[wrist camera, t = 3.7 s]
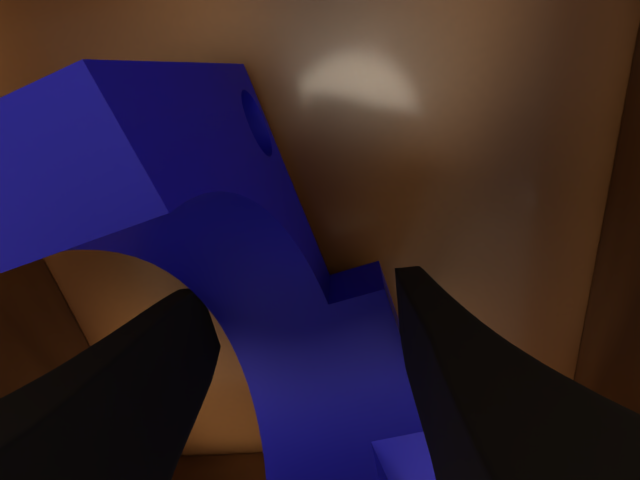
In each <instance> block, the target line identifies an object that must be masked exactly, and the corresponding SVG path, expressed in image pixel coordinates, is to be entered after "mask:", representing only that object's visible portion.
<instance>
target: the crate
mask: <svg viewBox="0 0 640 480" xmlns="http://www.w3.org/2000/svg"><path fill="white" fill-rule="evenodd" d="M82 59H91V60H127V61H162V62H198V63H233V64H244V66H245V68H246V71H247V73H248V76H249V78H250V81H251V83H252V86H253V88H254V91H255V93H256V95H257V98H258V100H259V103H260V105H261V108H262V110H263V113H264V115H265V118H266V120H267V122H268V125H269V127H270V130H271V132H272V135H273V137H274V140H275V142H276V145H277V147H278V149H279V152H280V154H281V157H282V159H283V162H284V164H285V167H286V169H287V172H288V174H289V176H290V179H291V181H292V184H293V186H294V189H295V191H296V194H297V196H298V199H299V201H300V203H301V206H302V208H303V211H304V213H305V216H306V218H307V221H308V223H309V226H310V228H311V230H312V233H313V235H314V238H315V240H316V243H317V245H318V248H319V250H320V252H321V255H322V257H323V260H324V262H325V265H326V267H327V270H328V272H329V275H332V274H335V273H339V272H342V271H345V270H349V269H352V268H356V267H359V266H362V265H366V264H369V263H373V262H376V261H379V263H380V266H381V268H382V271H383V274H384V277H385V280H386V283H387V286H388V289H389V292H390V295H391V298H392V301H393V304H394V307H395V310H396V313H397V316H398V305H397V292H396V279H395V268H402V267H412V266H420V267H422V268H423V269H424V270H425V271H426V272H427V273H428V274H429V275H430V276H431V277H432V278H433V279H434V280H435V281H436V282H437V283H438V284H439V285H440V286H441V287H442V288H443V289H444V290H445V291H446V292H448V293H449V294H450V295H451V296H452V297H453V298H454V299H455V300H456V301H458V302H459V303H460V304H461V305H462V306H463V307H465V308H466V309H467V310H468V311H469V312H470V313H472V314H473V315H474V316H475V317H477V318H478V319H479V320H480V321H481V322H483V323H484V324H485V325H487V326H488V327H489V328H491V329H492V330H493V331H495V332H496V333H497V334H499V335H500V336H502V337H503V338H505V339H506V340H507V341H509V342H510V343H512V344H513V345H515V346H517V347H518V348H520V349H521V350H523V351H524V352H526V353H528V354H529V355H531V356H532V357H534V358H535V359H537V360H539V361H540V362H542V363H544V364H545V365H547V366H549V367H550V368H552V369H554V370H556V371H557V372H559V373H561V374H563V375H564V376H566V377H568V378H570V379H572V380H574V381H576V382H577V383H579V384H581V385H583V386H585V387H587V388H589V389H590V390H592V391H594V392H596V393H598V394H600V395H602V396H604V397H606V398H608V399H610V400H612V401H614V402H616V403H618V404H620V405H622V406H624V407H626V408H628V409H630V410H632V411H634V412H636V413H638V414H640V0H0V98H1V97H3V96H5V95H7V94H9V93H11V92H13V91H16V90H18V89H20V88H22V87H24V86H26V85H28V84H30V83H33V82H35V81H37V80H39V79H41V78H43V77H45V76H48V75H50V74H52V73H54V72H56V71H58V70H60V69H62V68H65V67H67V66H69V65H71V64H73V63H75V62H77V61H80V60H82ZM187 288H188V287H187V286H186V285H184V284H183V283H182V282H181V281H180V280H178V279H177V278H175V277H174V276H173V275H171V274H170V273H168V272H167V271H165V270H163V269H161V268H159V267H157V266H156V265H154V264H152V263H149V262H147V261H144V260H142V259H139V258H137V257H133V256H129V255H126V254H122V253H118V252H110V251H103V250H68V251H61V252H59V253H56V254H53V255H50V256H47V257H45V258H42V259H39V260H36V261H33V262H31V263H28V264H25V265H22V266H19V267H17V268H14V269H11V270H8V271H5V272H3V273H0V398H2V397H4V396H6V395H8V394H10V393H12V392H14V391H15V390H17V389H19V388H21V387H23V386H24V385H26V384H28V383H30V382H32V381H34V380H35V379H37V378H39V377H41V376H43V375H44V374H46V373H48V372H50V371H51V370H53V369H55V368H56V367H58V366H60V365H61V364H63V363H65V362H66V361H68V360H70V359H71V358H73V357H74V356H76V355H78V354H79V353H81V352H82V351H84V350H85V349H87V348H89V347H90V346H92V345H93V344H95V343H96V342H98V341H100V340H101V339H103V338H104V337H106V336H107V335H109V334H110V333H112V332H113V331H115V330H116V329H118V328H119V327H121V326H122V325H124V324H125V323H127V322H128V321H130V320H131V319H133V318H134V317H136V316H137V315H139V314H140V313H142V312H143V311H145V310H146V309H148V308H149V307H151V306H152V305H154V304H155V303H157V302H158V301H160V300H161V299H163V298H165V297H166V296H168V295H170V294H171V293H173V292H175V291H177V290H179V289H187ZM208 310H209V309H208ZM209 313H210V316H211V319H212V322H213V325H214V328H215V331H216V334H217V337H218V340H219V342H220V345H221V348H220V352H219V356H218V361H217V365H216V368H215V372H214V375H213V379H212V382H211V385H210V387H209V390H208V392H207V394H206V397H205V399H204V402H203V404H202V407H201V409H200V411H199V414H198V416H197V419H196V421H195V423H194V426H193V428H192V430H191V433H190V435H189V437H188V440H187V442H186V445H185V447H184V449H183V452H182V454H181V456H180V459H179V461H178V463H177V466H176V469H175V471H174V474H173V477H172V479H171V480H266V473H265V464H264V456H263V449H262V442H261V436H260V431H259V426H258V421H257V416H256V412H255V408H254V404H253V400H252V397H251V394H250V390H249V387H248V384H247V381H246V378H245V375H244V373H243V370H242V367H241V365H240V363H239V360H238V358H237V356H236V353H235V351H234V349H233V347H232V345H231V343H230V341H229V339H228V338H227V336H226V334H225V333H224V331H223V329H222V327H221V326H220V324H219V323H218V321H217V320H216V319H215V317H214V316H213V314H212V313H211V312H210V310H209ZM398 319H399V318H398Z"/></svg>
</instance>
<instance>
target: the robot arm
mask: <svg viewBox="0 0 640 480" xmlns="http://www.w3.org/2000/svg"><path fill="white" fill-rule="evenodd" d="M395 279H396V292H397V305H398V318H399V331H400V336H401V344H402V350H403V356H404V362H405V368H406V372H407V376H408V379H409V383H410V386H411V390H412V393H413V397H414V401H415V404H416V408H417V411H418V415H419V418H420V422H421V425H422V429H423V432H424V436H425V439H426V443H427V446H428V450H429V453H430V457H431V461H432V465H433V470H434V474H435V478H436V480H640V414H638V413H636V412H634V411H632V410H630V409H628V408H626V407H624V406H622V405H620V404H618V403H616V402H614V401H612V400H610V399H608V398H606V397H604V396H602V395H600V394H598V393H596V392H594V391H592V390H590V389H589V388H587V387H585V386H583V385H581V384H579V383H577V382H576V381H574V380H572V379H570V378H568V377H566V376H564V375H563V374H561V373H559V372H557V371H556V370H554V369H552V368H550V367H549V366H547V365H545V364H544V363H542V362H540V361H539V360H537V359H535V358H534V357H532V356H531V355H529V354H528V353H526V352H524V351H523V350H521V349H520V348H518V347H517V346H515V345H513V344H512V343H510V342H509V341H507V340H506V339H505V338H503V337H502V336H500V335H499V334H497V333H496V332H495V331H493V330H492V329H491V328H489V327H488V326H487V325H485V324H484V323H483V322H481V321H480V320H479V319H478V318H477V317H475V316H474V315H473V314H472V313H470V312H469V311H468V310H467V309H466V308H465V307H463V306H462V305H461V304H460V303H459V302H458V301H456V300H455V299H454V298H453V297H452V296H451V295H450V294H449V293H448V292H446V291H445V290H444V289H443V288H442V287H441V286H440V285H439V284H438V283H437V282H436V281H435V280H434V279H433V278H432V277H431V276H430V275H429V274H428V273H427V272H426V271H425V270H424V269H423V268H422V267H420V266H412V267H402V268H395ZM220 348H221V345H220V342H219V340H218V337H217V334H216V331H215V328H214V325H213V322H212V319H211V316H210V313H209V310H208V308H207V307H206V306H205V304H204V303H203V302H202V301H201V300H200V299H199V298H198V297H197V296H196V295H195V294H194V292H193V291H191V290H190V289H189V288H187V289H179V290H177V291H175V292H173V293H171V294H170V295H168V296H166V297H165V298H163V299H161V300H160V301H158V302H157V303H155V304H154V305H152V306H151V307H149V308H148V309H146V310H145V311H143V312H142V313H140V314H139V315H137V316H136V317H134V318H133V319H131V320H130V321H128V322H127V323H125V324H124V325H122V326H121V327H119V328H118V329H116V330H115V331H113V332H112V333H110V334H109V335H107V336H106V337H104V338H103V339H101V340H100V341H98V342H96V343H95V344H93V345H92V346H90V347H89V348H87V349H85V350H84V351H82V352H81V353H79V354H78V355H76V356H74V357H73V358H71V359H70V360H68V361H66V362H65V363H63V364H61V365H60V366H58V367H56V368H55V369H53V370H51V371H50V372H48V373H46V374H44V375H43V376H41V377H39V378H37V379H35V380H34V381H32V382H30V383H28V384H26V385H24V386H23V387H21V388H19V389H17V390H15V391H14V392H12V393H10V394H8V395H6V396H4V397H2V398H0V480H171V479H172V477H173V474H174V471H175V469H176V466H177V463H178V461H179V459H180V456H181V454H182V452H183V449H184V447H185V445H186V442H187V440H188V437H189V435H190V433H191V430H192V428H193V426H194V423H195V421H196V419H197V416H198V414H199V411H200V409H201V407H202V404H203V402H204V399H205V397H206V394H207V392H208V390H209V387H210V385H211V382H212V379H213V375H214V372H215V368H216V365H217V361H218V356H219V352H220Z"/></svg>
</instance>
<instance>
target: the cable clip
mask: <svg viewBox="0 0 640 480" xmlns="http://www.w3.org/2000/svg"><path fill="white" fill-rule="evenodd" d="M68 250H103V251H110V252H118V253H122V254H126V255H129V256H133V257H137V258H139V259H142V260H144V261H147V262H149V263H152V264H154V265H156V266H157V267H159V268H161V269H163V270H165V271H167V272H168V273H170V274H171V275H173V276H174V277H175V278H177V279H178V280H180V281H181V282H182V283H183V284H184V285H186V286H187V287H188V288H189V289H190V290H191V291H193V292H194V294H195V295H196V296H197V297H198V298H199V299H200V300H201V301H202V302H203V303H204V304H205V306H206V307H207V308H208V309H209V310H210V312H211V313H212V314H213V316H214V317H215V319H216V320H217V321H218V323H219V324H220V326H221V327H222V329H223V331H224V333H225V334H226V336H227V338H228V339H229V341H230V343H231V345H232V347H233V349H234V351H235V353H236V356H237V358H238V360H239V363H240V365H241V367H242V370H243V373H244V375H245V378H246V381H247V384H248V387H249V390H250V394H251V397H252V400H253V404H254V408H255V412H256V416H257V421H258V426H259V431H260V436H261V442H262V449H263V456H264V464H265V473H266V480H436V478H435V474H434V470H433V465H432V461H431V457H430V453H429V450H428V446H427V443H426V439H425V436H424V432H423V429H422V425H421V422H420V418H419V415H418V411H417V408H416V404H415V401H414V397H413V393H412V390H411V386H410V383H409V379H408V376H407V372H406V368H405V362H404V356H403V350H402V344H401V336H400V331H399V319H398V316H397V313H396V310H395V307H394V304H393V301H392V298H391V295H390V292H389V289H388V286H387V283H386V280H385V277H384V274H383V271H382V268H381V266H380V263H379V261H376V262H373V263H369V264H366V265H362V266H359V267H356V268H352V269H349V270H345V271H342V272H339V273H335V274H332V275H329V272H328V270H327V267H326V265H325V262H324V260H323V257H322V255H321V252H320V250H319V248H318V245H317V243H316V240H315V238H314V235H313V233H312V230H311V228H310V226H309V223H308V221H307V218H306V216H305V213H304V211H303V208H302V206H301V203H300V201H299V199H298V196H297V194H296V191H295V189H294V186H293V184H292V181H291V179H290V176H289V174H288V172H287V169H286V167H285V164H284V162H283V159H282V157H281V154H280V152H279V149H278V147H277V145H276V142H275V140H274V137H273V135H272V132H271V130H270V127H269V125H268V122H267V120H266V118H265V115H264V113H263V110H262V108H261V105H260V103H259V100H258V98H257V95H256V93H255V91H254V88H253V86H252V83H251V81H250V78H249V76H248V73H247V71H246V68H245V66H244V64H233V63H198V62H162V61H127V60H91V59H82V60H80V61H77V62H75V63H73V64H71V65H69V66H67V67H65V68H62V69H60V70H58V71H56V72H54V73H52V74H50V75H48V76H45V77H43V78H41V79H39V80H37V81H35V82H33V83H30V84H28V85H26V86H24V87H22V88H20V89H18V90H16V91H13V92H11V93H9V94H7V95H5V96H3V97H1V98H0V273H3V272H5V271H8V270H11V269H14V268H17V267H19V266H22V265H25V264H28V263H31V262H33V261H36V260H39V259H42V258H45V257H47V256H50V255H53V254H56V253H59V252H61V251H68Z"/></svg>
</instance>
